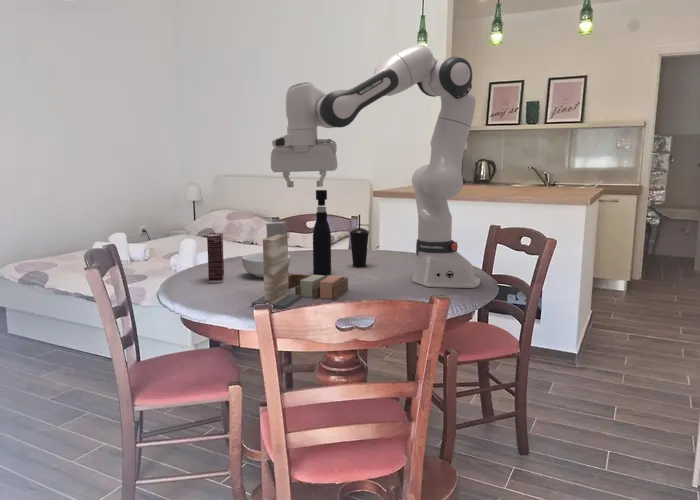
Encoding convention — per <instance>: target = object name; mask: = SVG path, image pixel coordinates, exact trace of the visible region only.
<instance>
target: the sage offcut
mask: <svg viewBox="0 0 700 500" xmlns="http://www.w3.org/2000/svg"><path fill="white" fill-rule="evenodd" d="M311 275H312V276H309V277H307V278H305V279H303V280H300V295H301V297H304V298H314V291H313V289H314V288H316V287H317V286H319V285H320V281H322V280H323V279H325V276H323V275H314V274H311Z"/></svg>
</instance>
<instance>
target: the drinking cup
mask: <svg viewBox="0 0 700 500" xmlns="http://www.w3.org/2000/svg"><path fill="white" fill-rule="evenodd" d="M348 233H349V234H350V236H349V237H350V247H351V257H352V266H353V267H354V268H366V266H367V256H368V246H369V245H368V243H369V234H370V230H367V229H366V228H363V227H361V214H358V227H356V228H353V229H351V230H349V232H348Z"/></svg>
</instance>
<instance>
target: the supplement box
mask: <svg viewBox="0 0 700 500" xmlns="http://www.w3.org/2000/svg"><path fill="white" fill-rule="evenodd" d="M223 234H224V233H223V232H210V233H208V235H207V236H206V243H207V244H206V245H207V264H208V265H207V267H208V270H207V273H208V283H209V284H223V281H224V278H225V268H224V267H225V266H224V263H225V262H224V238H223V237H224V236H223Z"/></svg>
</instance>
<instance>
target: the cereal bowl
mask: <svg viewBox="0 0 700 500" xmlns="http://www.w3.org/2000/svg"><path fill="white" fill-rule="evenodd" d="M291 259H292V258H291V255H290V254H288V269H289V268H290V266H291ZM241 262H242V266H243V269H244V270H245V271H246V272H247V273H248V274H252V275H254V276H255V277H256V278H262V279H264V264H263V251H262V252H261V251H260V252H254V253H247V254H245V255H243V256H241Z"/></svg>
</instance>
